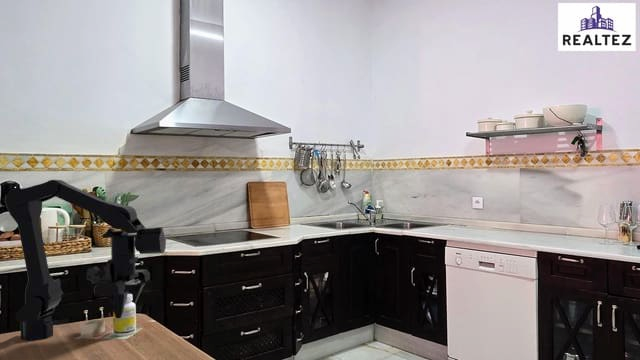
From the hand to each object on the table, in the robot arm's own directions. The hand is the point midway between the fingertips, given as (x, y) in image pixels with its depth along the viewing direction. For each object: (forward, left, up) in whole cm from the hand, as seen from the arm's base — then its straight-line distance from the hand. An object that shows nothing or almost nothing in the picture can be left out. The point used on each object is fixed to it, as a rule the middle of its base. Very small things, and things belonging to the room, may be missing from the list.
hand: (124, 314), depth 124 cm
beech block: (-8, -1, -5) cm, 9 cm away
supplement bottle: (0, 0, -5) cm, 5 cm away
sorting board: (-4, 0, -6) cm, 7 cm away
